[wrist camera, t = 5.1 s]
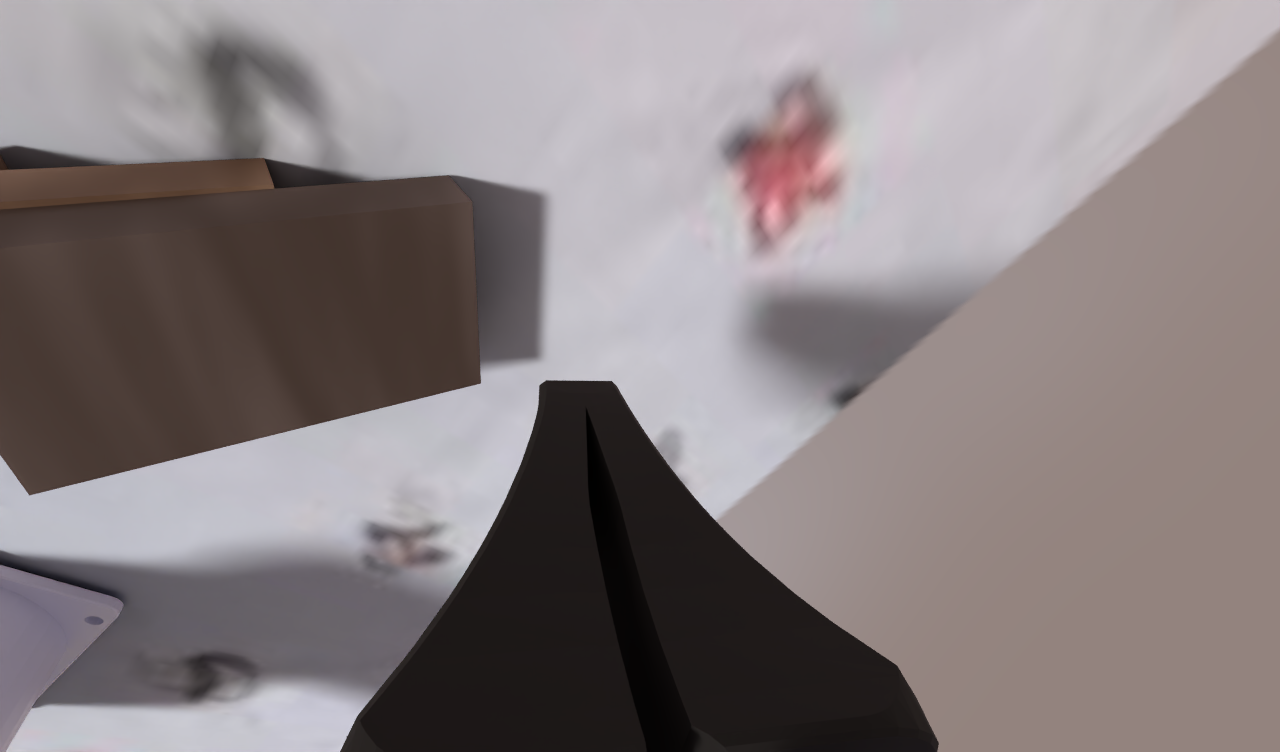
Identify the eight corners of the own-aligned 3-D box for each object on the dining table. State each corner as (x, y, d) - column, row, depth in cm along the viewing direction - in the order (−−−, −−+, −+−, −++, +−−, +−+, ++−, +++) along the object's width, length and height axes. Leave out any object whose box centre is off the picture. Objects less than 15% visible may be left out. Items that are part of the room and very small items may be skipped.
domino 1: (273, 184, 12) (-510, 234, 8) (319, 379, 15) (-231, 493, 11) (264, 158, 13) (-433, 190, 9) (308, 345, 16) (-198, 437, 12)
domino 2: (472, 201, 13) (-139, 261, 9) (480, 383, 16) (29, 495, 12) (448, 175, 14) (-109, 217, 10) (460, 350, 17) (38, 442, 13)
